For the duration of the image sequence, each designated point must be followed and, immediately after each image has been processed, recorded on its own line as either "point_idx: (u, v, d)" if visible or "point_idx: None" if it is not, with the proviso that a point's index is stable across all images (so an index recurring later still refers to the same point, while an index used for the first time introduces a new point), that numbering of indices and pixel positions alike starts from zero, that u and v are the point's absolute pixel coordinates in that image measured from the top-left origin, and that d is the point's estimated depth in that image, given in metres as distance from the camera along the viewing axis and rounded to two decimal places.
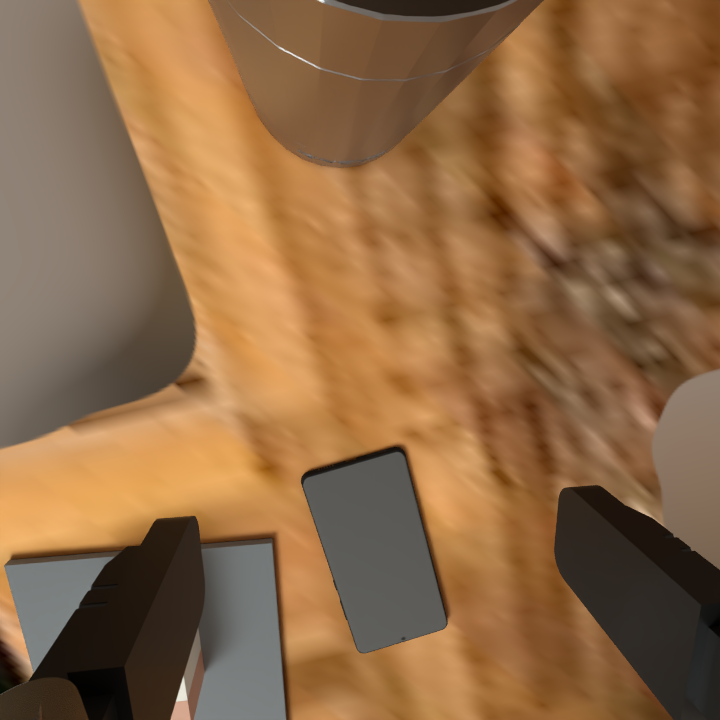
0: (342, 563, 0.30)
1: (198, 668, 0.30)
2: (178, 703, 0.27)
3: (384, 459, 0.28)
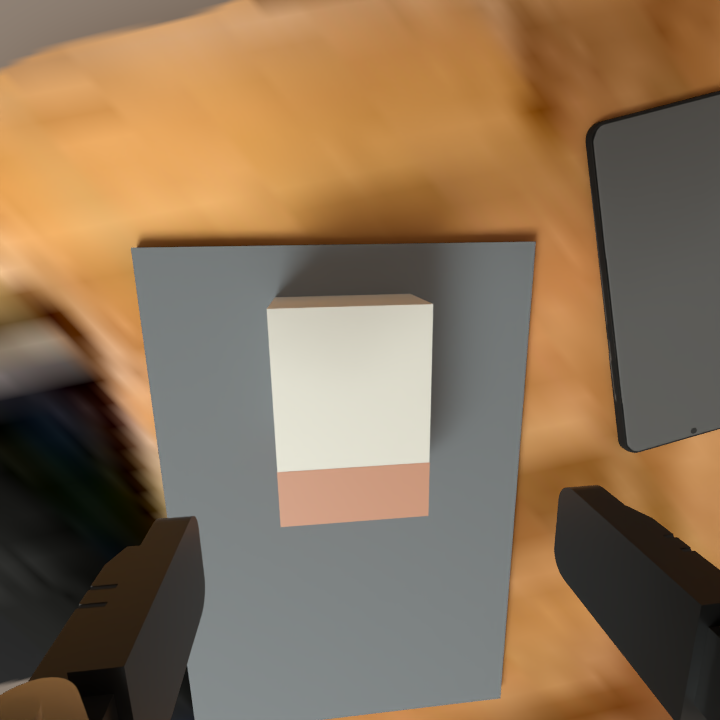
0: (629, 289, 0.20)
1: None
2: (414, 467, 0.16)
3: (718, 101, 0.18)
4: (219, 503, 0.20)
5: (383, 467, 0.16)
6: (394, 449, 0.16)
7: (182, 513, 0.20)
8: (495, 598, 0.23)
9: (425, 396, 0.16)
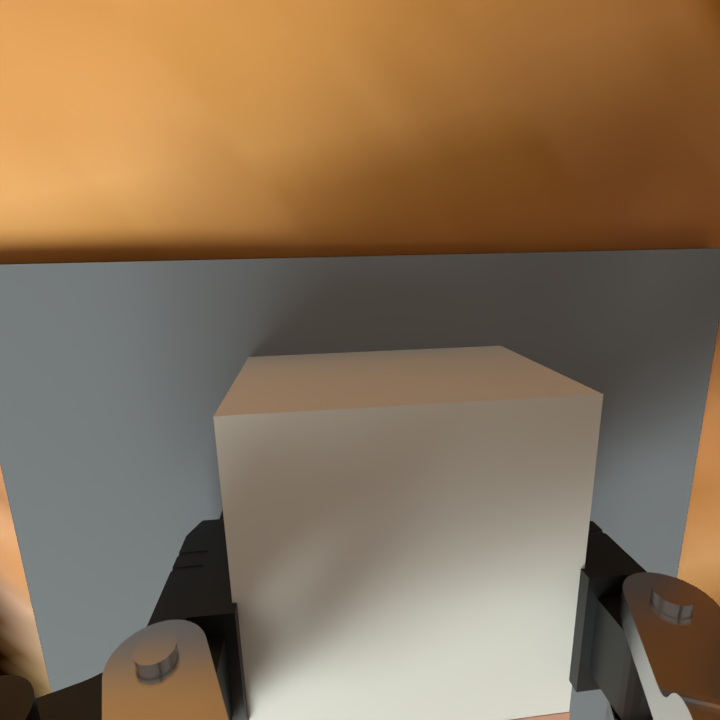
0: None
1: None
2: None
3: None
4: None
5: None
6: (499, 693, 0.08)
7: None
8: None
9: (571, 587, 0.07)
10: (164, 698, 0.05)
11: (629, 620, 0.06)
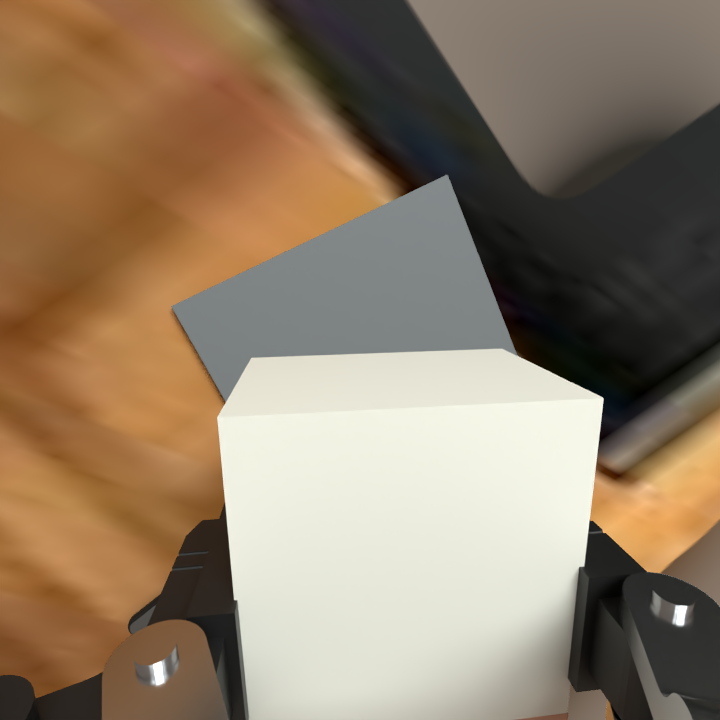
0: None
1: None
2: None
3: None
4: None
5: None
6: (498, 694, 0.08)
7: None
8: None
9: (570, 589, 0.07)
10: (163, 698, 0.05)
11: (629, 620, 0.06)
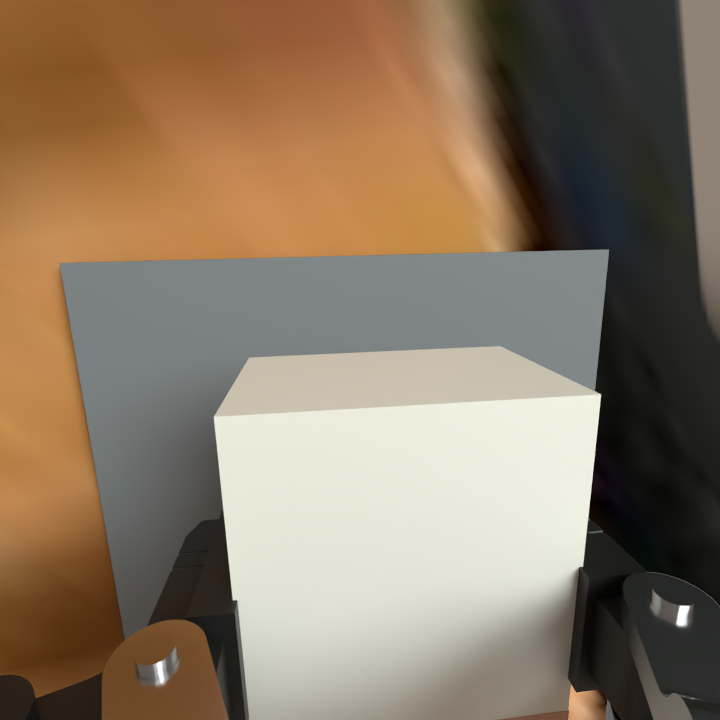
0: None
1: None
2: None
3: None
4: None
5: None
6: (498, 691, 0.08)
7: None
8: (119, 479, 0.14)
9: (569, 586, 0.07)
10: (164, 698, 0.05)
11: (629, 620, 0.06)
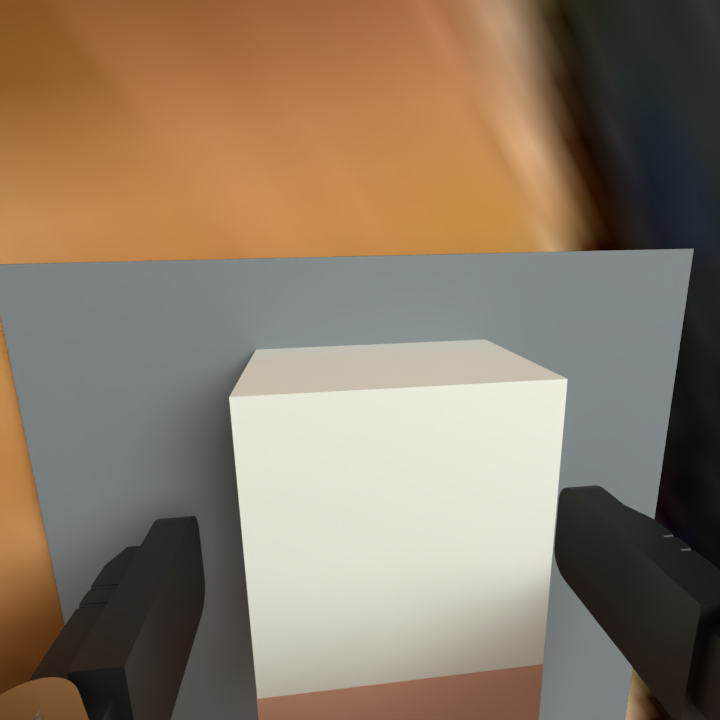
0: None
1: None
2: (515, 674, 0.09)
3: None
4: (561, 686, 0.14)
5: (459, 678, 0.09)
6: (480, 646, 0.09)
7: (612, 671, 0.14)
8: (75, 537, 0.11)
9: (542, 551, 0.08)
10: None
11: None
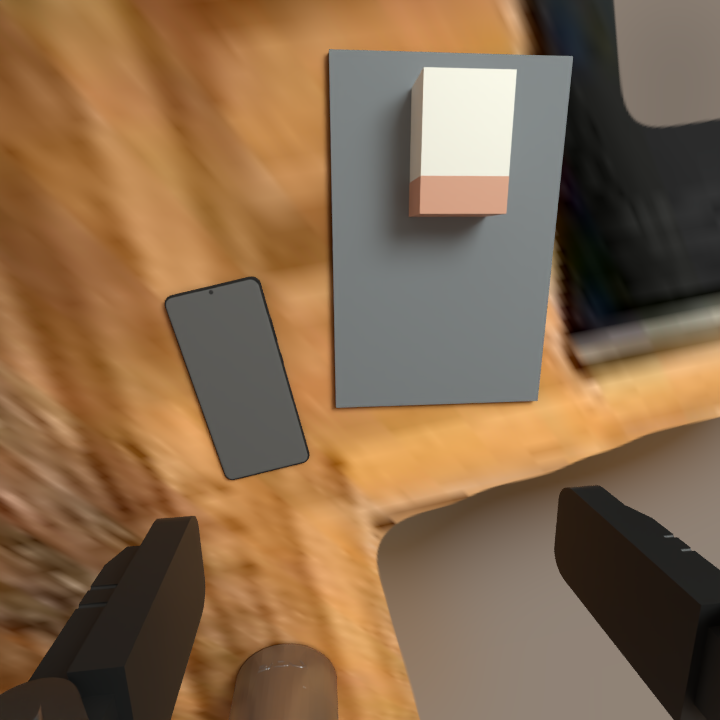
0: (275, 383, 0.34)
1: None
2: (500, 178, 0.28)
3: (242, 473, 0.35)
4: (521, 258, 0.33)
5: (482, 177, 0.28)
6: (489, 165, 0.27)
7: (544, 253, 0.33)
8: (341, 161, 0.30)
9: (509, 130, 0.27)
10: None
11: None
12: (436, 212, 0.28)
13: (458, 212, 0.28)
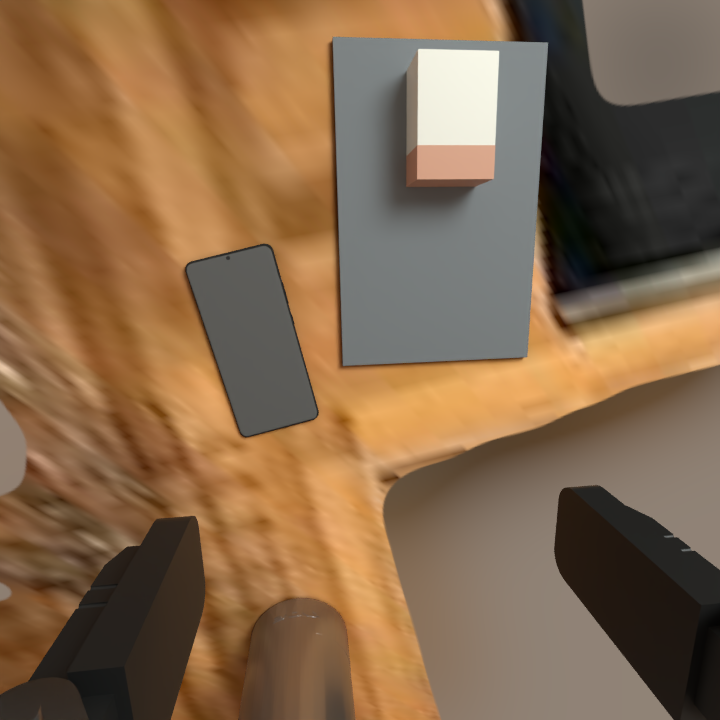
0: (286, 343, 0.36)
1: None
2: (487, 147, 0.31)
3: (256, 431, 0.38)
4: (508, 224, 0.36)
5: (471, 146, 0.31)
6: (477, 135, 0.31)
7: (528, 220, 0.36)
8: (344, 137, 0.33)
9: (494, 104, 0.31)
10: None
11: None
12: (432, 178, 0.31)
13: (451, 178, 0.31)
